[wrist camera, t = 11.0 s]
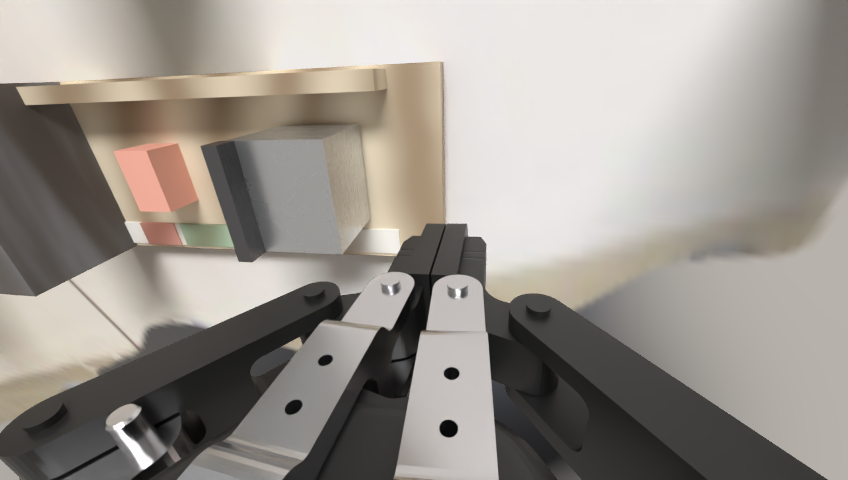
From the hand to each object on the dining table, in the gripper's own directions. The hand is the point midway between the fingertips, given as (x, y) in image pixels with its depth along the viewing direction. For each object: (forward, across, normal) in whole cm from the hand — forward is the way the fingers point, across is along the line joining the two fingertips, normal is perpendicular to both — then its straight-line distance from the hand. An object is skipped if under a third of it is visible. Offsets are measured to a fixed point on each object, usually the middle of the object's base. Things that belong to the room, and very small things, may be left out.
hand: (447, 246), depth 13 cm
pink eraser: (+8, +20, -1) cm, 22 cm away
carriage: (+8, +9, -1) cm, 12 cm away
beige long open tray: (+10, +16, -1) cm, 18 cm away
